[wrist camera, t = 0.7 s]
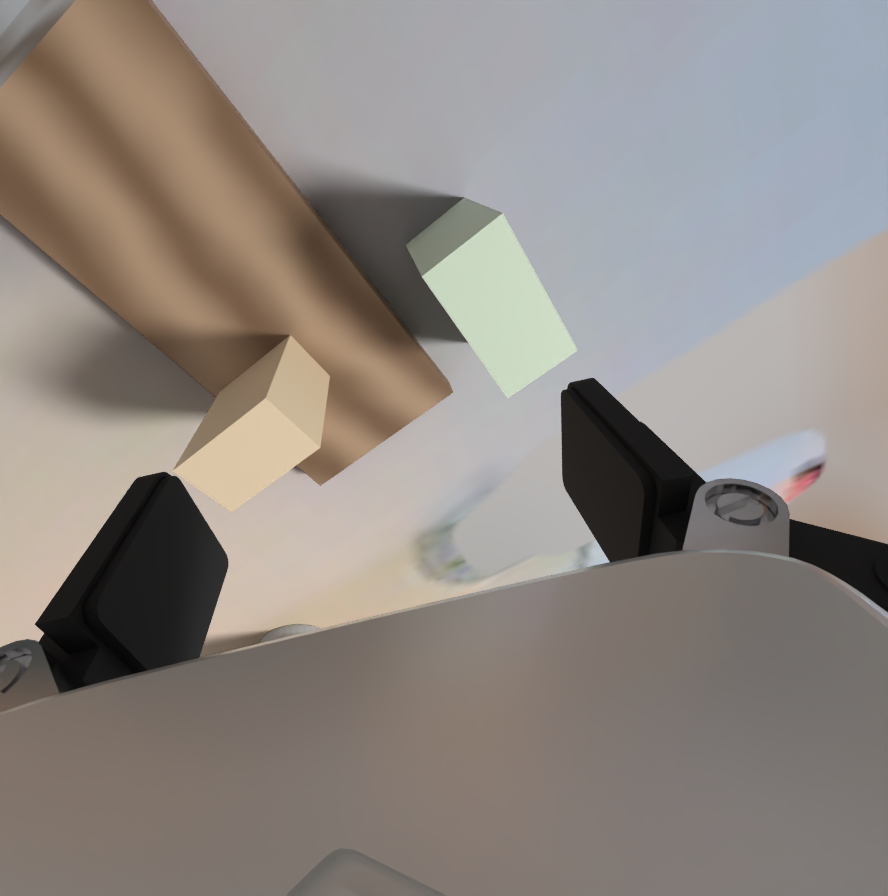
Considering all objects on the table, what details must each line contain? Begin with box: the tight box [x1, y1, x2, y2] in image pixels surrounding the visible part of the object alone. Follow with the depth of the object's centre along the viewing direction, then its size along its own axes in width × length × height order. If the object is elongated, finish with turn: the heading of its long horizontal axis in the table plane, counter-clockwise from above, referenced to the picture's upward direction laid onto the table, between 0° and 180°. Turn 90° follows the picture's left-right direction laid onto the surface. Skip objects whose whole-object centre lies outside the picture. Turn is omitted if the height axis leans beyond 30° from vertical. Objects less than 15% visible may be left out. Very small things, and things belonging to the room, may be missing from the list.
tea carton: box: [406, 198, 578, 398], centre depth 29 cm, size 5×9×10 cm, turn 35°
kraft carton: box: [173, 335, 330, 512], centre depth 29 cm, size 7×4×10 cm, turn 125°
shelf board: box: [0, 0, 453, 486], centre depth 30 cm, size 14×30×5 cm, turn 35°
